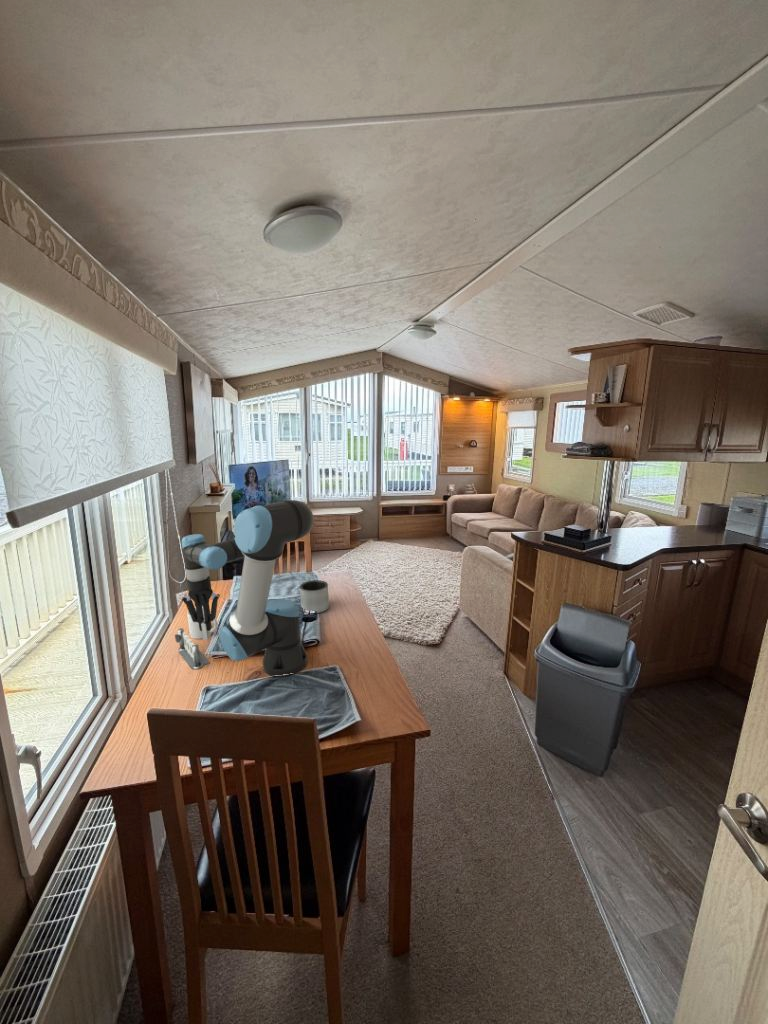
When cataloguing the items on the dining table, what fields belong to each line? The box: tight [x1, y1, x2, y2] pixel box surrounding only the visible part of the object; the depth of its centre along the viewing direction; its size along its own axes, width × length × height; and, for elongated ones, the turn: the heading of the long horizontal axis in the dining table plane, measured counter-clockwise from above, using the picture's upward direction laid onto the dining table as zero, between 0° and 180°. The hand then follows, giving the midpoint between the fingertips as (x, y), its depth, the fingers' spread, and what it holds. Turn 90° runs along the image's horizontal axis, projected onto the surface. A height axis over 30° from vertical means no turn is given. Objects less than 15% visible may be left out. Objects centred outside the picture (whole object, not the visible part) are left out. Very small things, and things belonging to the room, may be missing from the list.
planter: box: [299, 579, 330, 614], centre depth 189 cm, size 13×13×11 cm
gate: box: [183, 631, 196, 660], centre depth 153 cm, size 12×1×7 cm, turn 40°
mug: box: [186, 606, 218, 640], centre depth 168 cm, size 12×8×10 cm
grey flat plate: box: [178, 649, 211, 670], centre depth 153 cm, size 15×6×1 cm, turn 42°
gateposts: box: [174, 627, 204, 670], centre depth 152 cm, size 19×4×8 cm, turn 42°
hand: (207, 638), depth 155 cm, fingers closed
